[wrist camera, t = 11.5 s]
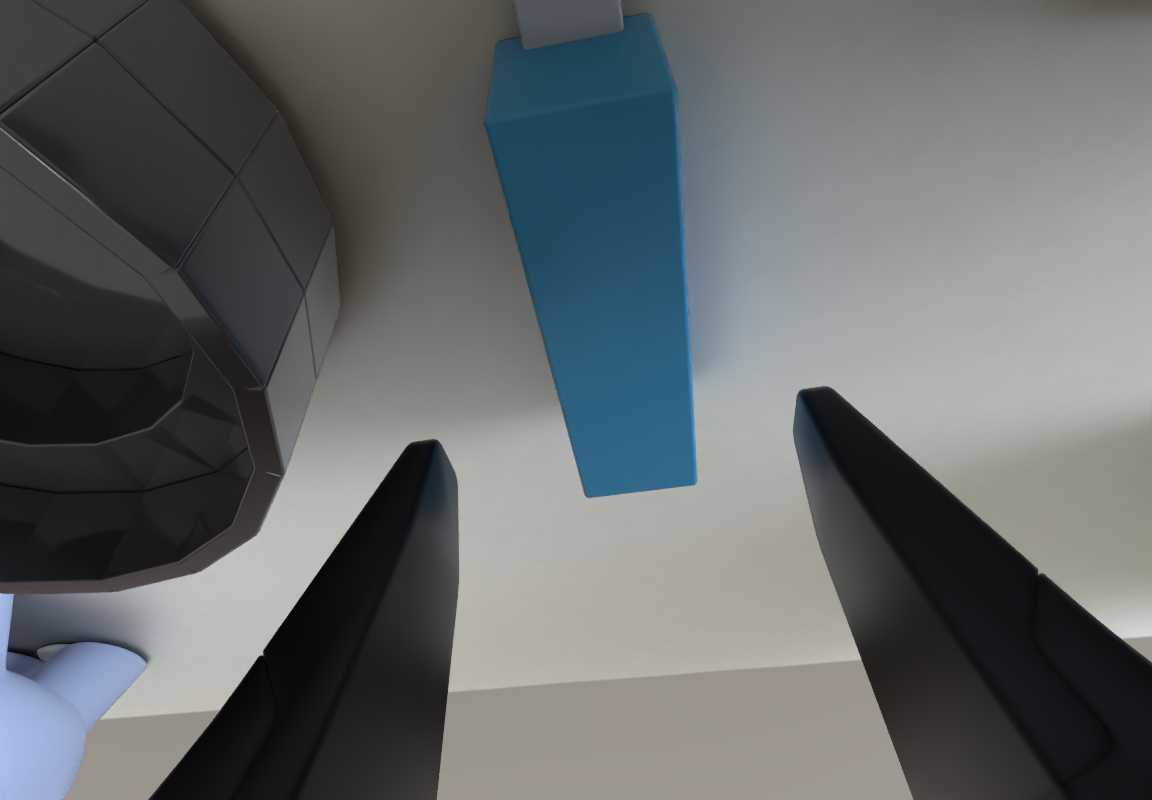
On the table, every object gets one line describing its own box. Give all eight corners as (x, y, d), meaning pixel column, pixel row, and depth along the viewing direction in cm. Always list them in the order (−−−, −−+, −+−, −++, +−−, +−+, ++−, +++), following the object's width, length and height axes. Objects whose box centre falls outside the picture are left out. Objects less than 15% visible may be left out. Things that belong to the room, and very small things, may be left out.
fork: (695, 389, 17) (715, 484, 15) (565, 406, 17) (568, 501, 15) (637, -803, 6) (688, -1073, 4) (277, -690, 6) (143, -882, 4)
